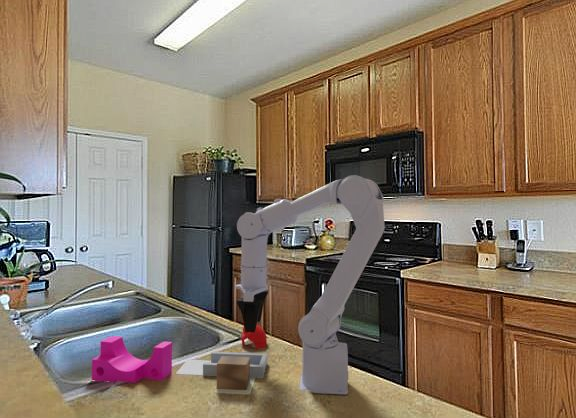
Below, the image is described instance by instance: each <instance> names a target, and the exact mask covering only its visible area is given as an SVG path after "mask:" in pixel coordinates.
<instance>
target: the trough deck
mask: <svg viewBox="0 0 576 418" xmlns="http://www.w3.org/2000/svg"><path fill="white" fill-rule="evenodd" d="M221 356H234V357H250V378H255V379H263V378H264V375H265V372H266V370H267V369H266V368H267V366H268V365H267V364H268V354H267V353H252V352H250V353H249V352H231V351H228V352H227V351H211V353H210V360H204V359H186V361H185V362H184V363H183V364H182V365H181V367H180V368H179V369H178V370H177V371H176V373H175V375H183V376H184V375H187V376H206V377H208V376H210V377H211V376H212V377H217V363H218V361H219V360H220V358H221Z"/></svg>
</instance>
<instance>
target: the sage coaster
mask: <svg viewBox="0 0 576 418" xmlns="http://www.w3.org/2000/svg"><path fill="white" fill-rule="evenodd" d="M255 381H256V378H250V382H249V385H248V388H247V390H231V389H217V387H216V389H215V391H214V394H227V395H228V394H229V395H231V394H233V395H251V393H252V391H253V386H254V383H255Z"/></svg>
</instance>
